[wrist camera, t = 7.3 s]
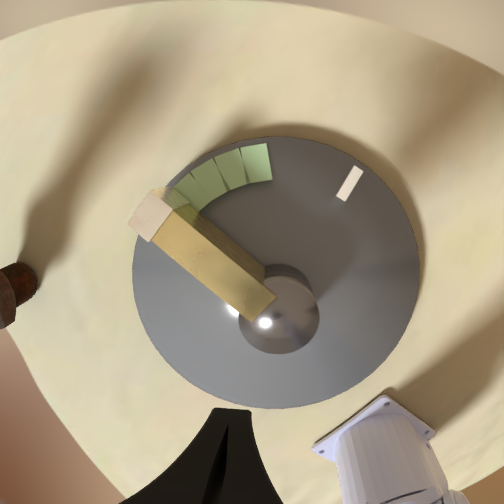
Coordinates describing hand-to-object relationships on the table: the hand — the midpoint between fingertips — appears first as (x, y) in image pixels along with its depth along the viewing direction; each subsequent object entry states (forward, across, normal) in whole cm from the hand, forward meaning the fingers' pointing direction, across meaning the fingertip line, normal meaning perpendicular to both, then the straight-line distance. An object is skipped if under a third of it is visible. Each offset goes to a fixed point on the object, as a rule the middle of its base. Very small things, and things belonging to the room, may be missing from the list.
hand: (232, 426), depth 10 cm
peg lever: (+8, +1, -4) cm, 9 cm away
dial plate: (+10, -2, -2) cm, 10 cm away
